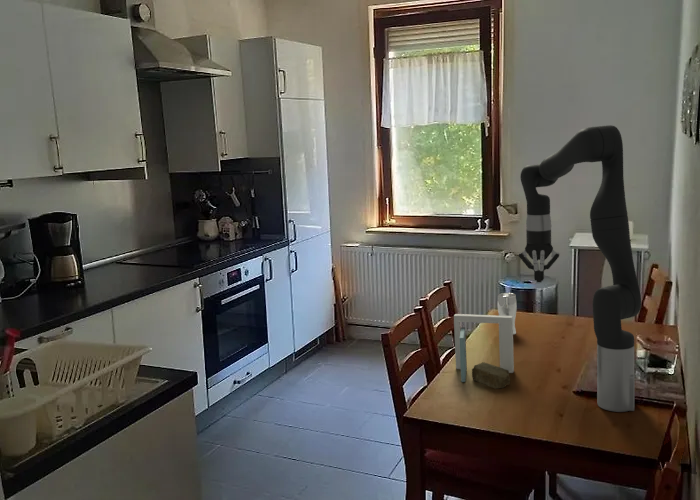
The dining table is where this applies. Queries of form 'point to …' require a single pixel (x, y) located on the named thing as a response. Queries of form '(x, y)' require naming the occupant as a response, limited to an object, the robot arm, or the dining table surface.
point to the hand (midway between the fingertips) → (539, 281)
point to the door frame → (504, 337)
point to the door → (463, 354)
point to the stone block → (490, 375)
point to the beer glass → (507, 306)
